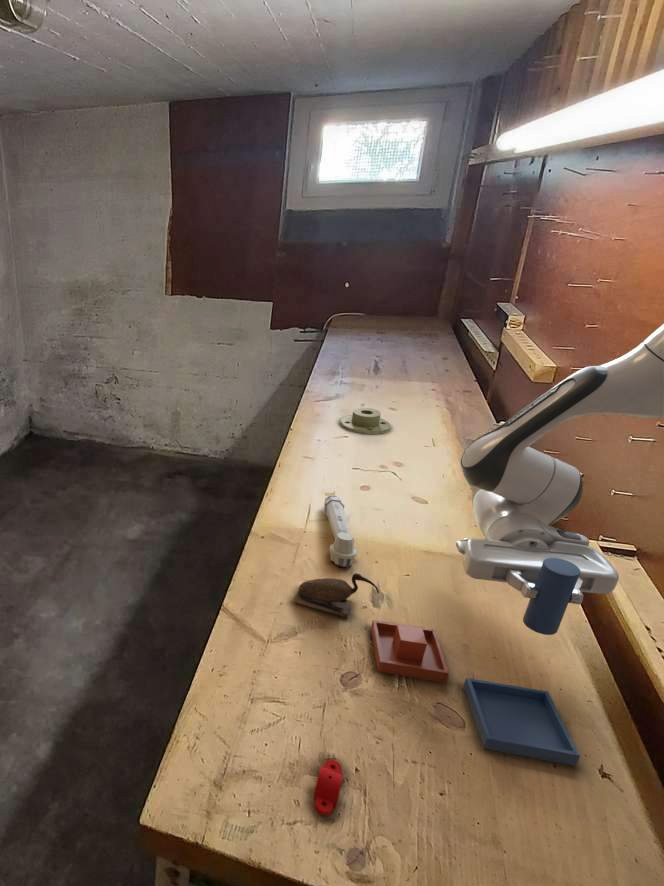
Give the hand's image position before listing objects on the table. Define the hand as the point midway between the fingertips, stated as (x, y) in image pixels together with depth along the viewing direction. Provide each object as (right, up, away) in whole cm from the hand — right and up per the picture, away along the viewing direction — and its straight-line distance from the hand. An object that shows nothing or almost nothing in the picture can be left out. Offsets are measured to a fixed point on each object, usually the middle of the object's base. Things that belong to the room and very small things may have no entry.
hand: (554, 597), depth 83 cm
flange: (+16, +32, +103) cm, 109 cm away
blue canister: (0, -5, +3) cm, 6 cm away
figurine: (-24, -8, +24) cm, 35 cm away
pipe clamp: (-36, -24, -8) cm, 44 cm away
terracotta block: (-16, -12, +12) cm, 23 cm away
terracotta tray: (-15, -13, +13) cm, 24 cm away
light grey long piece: (-15, +3, +45) cm, 48 cm away
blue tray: (-6, -19, 0) cm, 20 cm away
